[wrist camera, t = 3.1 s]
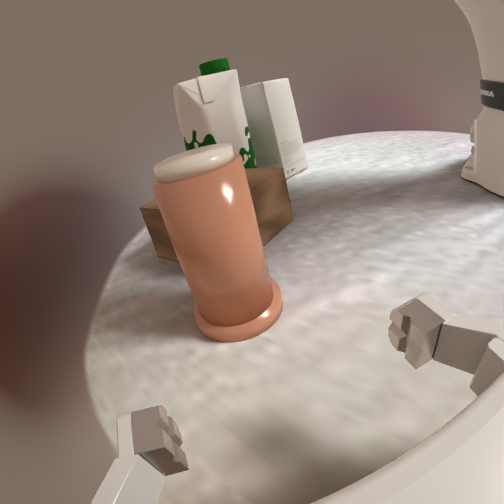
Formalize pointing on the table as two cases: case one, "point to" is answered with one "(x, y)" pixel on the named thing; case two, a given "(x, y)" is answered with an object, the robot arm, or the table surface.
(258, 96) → the skincare box
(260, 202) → the block
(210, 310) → the canister
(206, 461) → the table surface
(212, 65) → the milk carton
